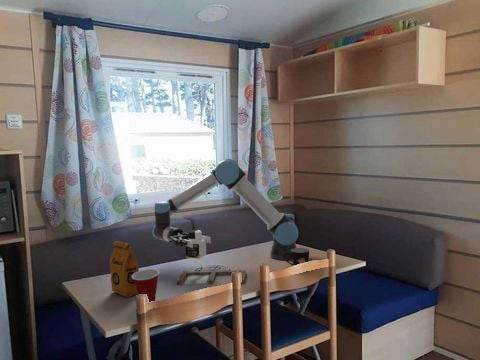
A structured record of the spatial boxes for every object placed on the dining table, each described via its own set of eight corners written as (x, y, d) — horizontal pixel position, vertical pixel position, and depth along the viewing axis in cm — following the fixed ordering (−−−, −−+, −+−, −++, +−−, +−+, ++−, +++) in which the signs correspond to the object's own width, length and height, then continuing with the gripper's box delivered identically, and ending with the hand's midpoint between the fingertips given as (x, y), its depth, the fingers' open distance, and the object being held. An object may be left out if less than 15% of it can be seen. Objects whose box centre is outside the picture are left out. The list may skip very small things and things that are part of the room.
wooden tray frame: (245, 273, 198) (245, 270, 198) (244, 283, 184) (244, 280, 184) (183, 274, 200) (183, 271, 200) (177, 284, 186) (176, 281, 185)
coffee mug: (311, 268, 201) (311, 248, 200) (307, 274, 193) (306, 253, 192) (288, 266, 206) (288, 246, 205) (283, 271, 198) (282, 251, 197)
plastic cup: (127, 303, 166) (125, 273, 165) (150, 295, 174) (148, 267, 173) (143, 309, 159) (141, 279, 157) (166, 301, 166) (164, 272, 165)
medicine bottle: (185, 257, 189) (184, 231, 188) (193, 253, 196) (191, 228, 195) (199, 259, 187) (198, 232, 185) (206, 254, 193) (205, 229, 192)
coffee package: (122, 299, 170) (119, 247, 168) (109, 292, 179) (105, 242, 177) (144, 293, 177) (141, 242, 175) (129, 286, 186) (126, 238, 184)
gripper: (192, 238, 211) (220, 245, 195) (154, 247, 197) (181, 255, 180) (191, 224, 211) (219, 230, 194) (153, 231, 196) (180, 238, 180)
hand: (201, 242), depth 187 cm, fingers closed on medicine bottle, 9 cm apart
